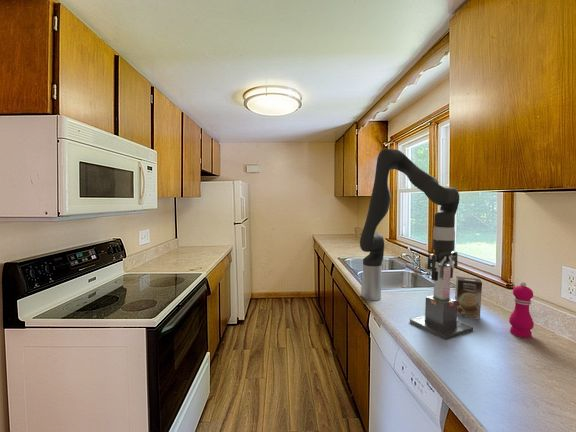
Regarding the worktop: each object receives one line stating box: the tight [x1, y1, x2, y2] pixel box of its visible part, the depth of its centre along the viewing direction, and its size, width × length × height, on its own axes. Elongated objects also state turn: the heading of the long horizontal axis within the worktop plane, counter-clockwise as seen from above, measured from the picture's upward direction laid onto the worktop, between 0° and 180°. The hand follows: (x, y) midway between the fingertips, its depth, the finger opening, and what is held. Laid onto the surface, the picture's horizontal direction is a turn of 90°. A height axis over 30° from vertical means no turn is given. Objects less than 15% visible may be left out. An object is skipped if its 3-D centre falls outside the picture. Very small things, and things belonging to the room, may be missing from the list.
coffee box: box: [454, 276, 483, 320], centre depth 126 cm, size 9×6×16 cm
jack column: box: [433, 264, 451, 301], centre depth 114 cm, size 4×4×18 cm
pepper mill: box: [508, 281, 535, 339], centre depth 109 cm, size 7×7×20 cm
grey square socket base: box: [409, 294, 474, 341], centre depth 115 cm, size 16×16×12 cm
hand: (442, 279), depth 114 cm, fingers open, 8 cm apart
